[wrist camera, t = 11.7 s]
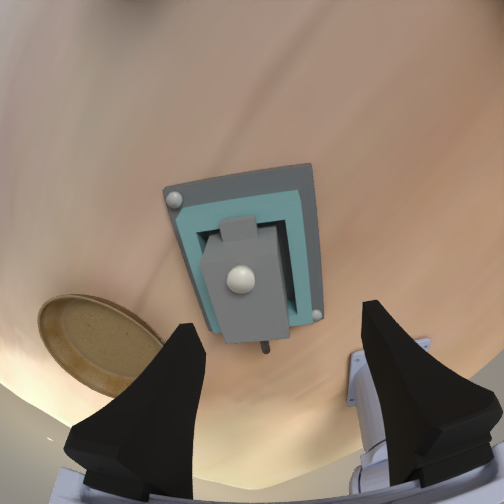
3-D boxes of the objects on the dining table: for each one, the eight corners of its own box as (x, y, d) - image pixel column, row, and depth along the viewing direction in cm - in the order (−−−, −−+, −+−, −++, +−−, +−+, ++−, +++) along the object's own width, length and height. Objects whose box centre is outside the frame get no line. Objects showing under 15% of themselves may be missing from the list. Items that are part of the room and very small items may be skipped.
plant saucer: (45, 341, 29) (35, 356, 27) (58, 248, 22) (42, 265, 20) (154, 399, 33) (149, 416, 30) (208, 331, 26) (203, 354, 24)
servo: (292, 328, 24) (295, 380, 20) (242, 333, 25) (237, 384, 20) (272, 198, 19) (274, 239, 14) (208, 208, 19) (190, 250, 15)
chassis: (323, 313, 24) (327, 335, 22) (210, 325, 25) (205, 346, 23) (310, 162, 18) (316, 174, 16) (165, 187, 19) (153, 200, 17)
